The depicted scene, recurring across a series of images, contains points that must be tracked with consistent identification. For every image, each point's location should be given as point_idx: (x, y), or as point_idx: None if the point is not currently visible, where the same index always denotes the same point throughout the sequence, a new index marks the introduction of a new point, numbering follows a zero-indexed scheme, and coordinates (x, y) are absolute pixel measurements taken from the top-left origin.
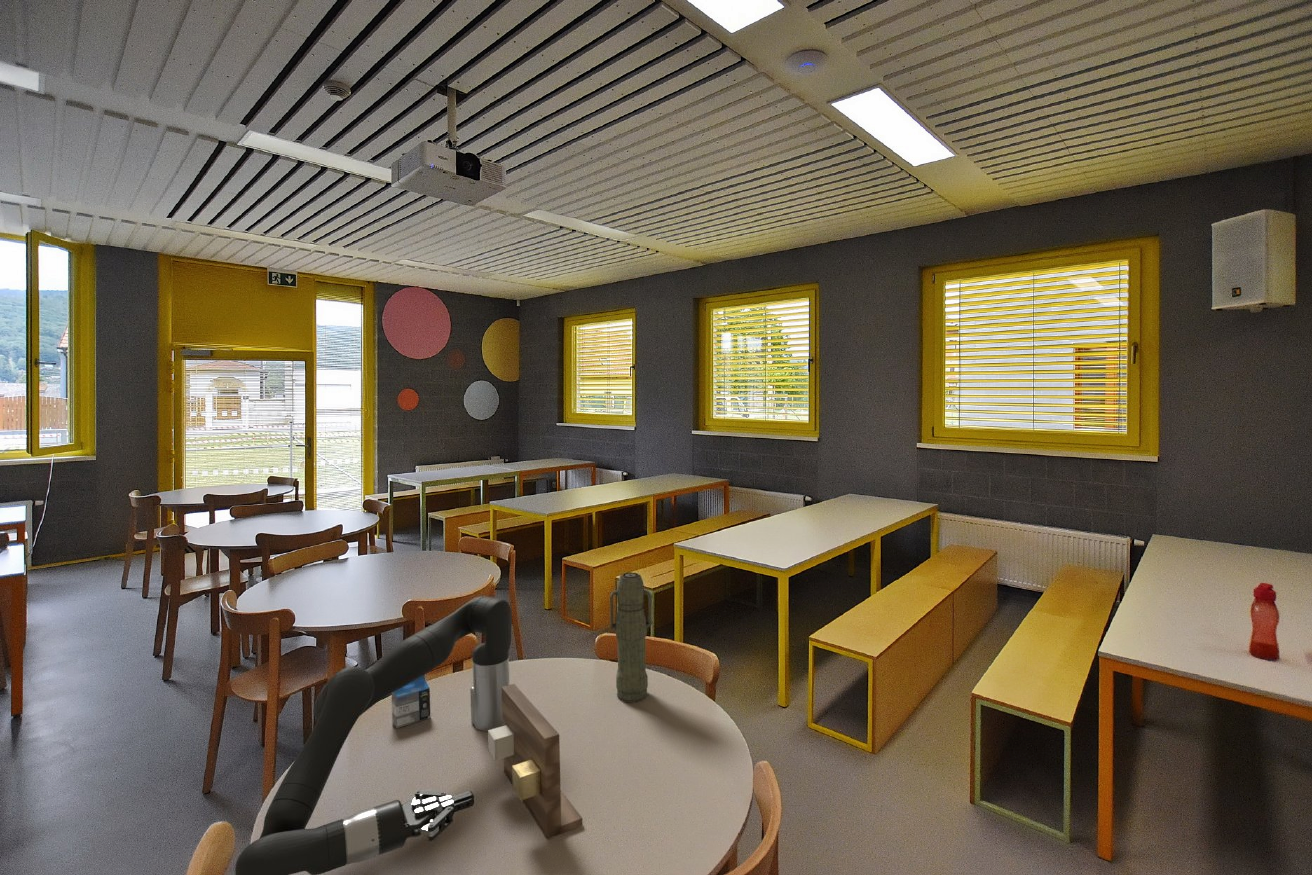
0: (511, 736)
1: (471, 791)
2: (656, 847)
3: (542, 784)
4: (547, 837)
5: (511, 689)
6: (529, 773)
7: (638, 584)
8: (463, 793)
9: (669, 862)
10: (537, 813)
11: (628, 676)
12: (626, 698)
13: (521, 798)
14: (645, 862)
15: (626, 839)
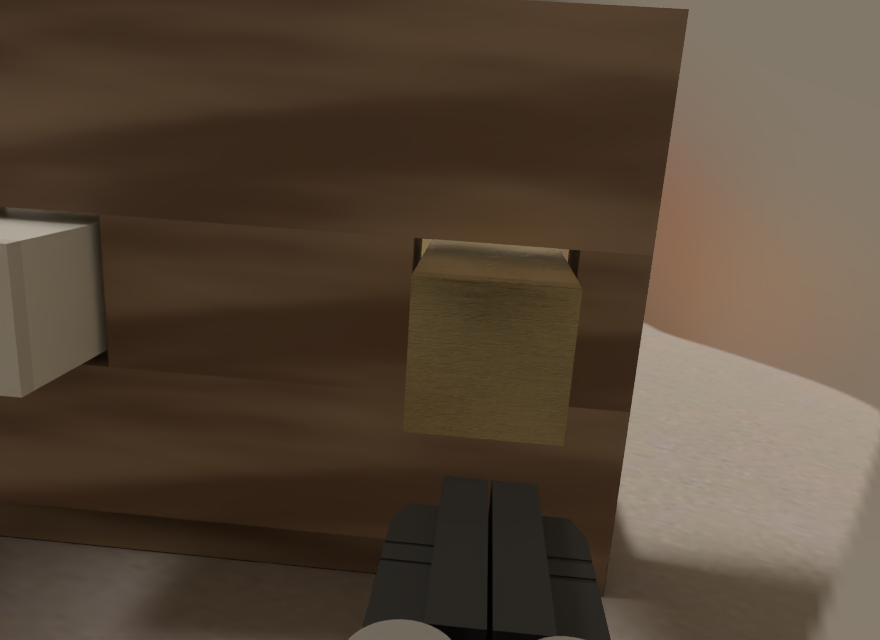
0: (83, 238)
1: (454, 478)
2: (787, 439)
3: (588, 332)
4: (603, 588)
5: None
6: (565, 274)
7: None
8: (450, 522)
9: (867, 446)
10: None
11: None
12: None
13: (563, 433)
14: (858, 472)
15: (721, 460)
